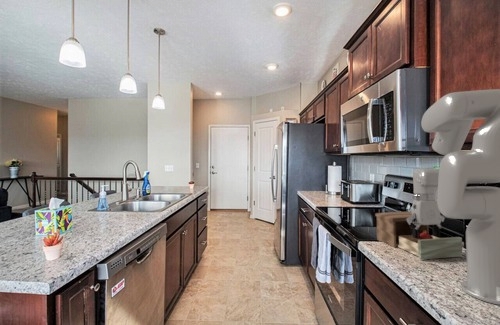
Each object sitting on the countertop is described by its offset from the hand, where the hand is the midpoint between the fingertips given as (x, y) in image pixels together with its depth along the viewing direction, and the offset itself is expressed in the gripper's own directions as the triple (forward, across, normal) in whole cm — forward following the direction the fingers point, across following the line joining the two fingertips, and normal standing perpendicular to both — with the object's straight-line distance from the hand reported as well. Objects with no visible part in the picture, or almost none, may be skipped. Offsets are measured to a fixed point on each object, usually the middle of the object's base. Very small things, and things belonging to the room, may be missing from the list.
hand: (426, 237), depth 103 cm
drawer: (+6, 0, +1) cm, 6 cm away
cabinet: (+6, 0, +15) cm, 16 cm away
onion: (+5, 0, +1) cm, 5 cm away
